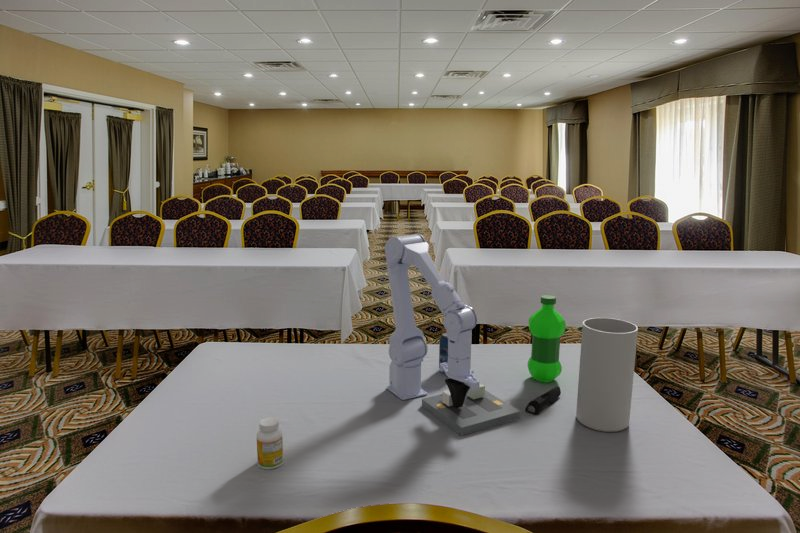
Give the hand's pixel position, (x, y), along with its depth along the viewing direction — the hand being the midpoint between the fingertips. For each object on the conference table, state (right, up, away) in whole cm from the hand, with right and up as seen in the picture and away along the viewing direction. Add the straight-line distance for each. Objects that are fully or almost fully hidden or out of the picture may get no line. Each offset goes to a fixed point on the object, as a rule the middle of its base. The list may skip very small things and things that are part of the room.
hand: (458, 406), depth 144 cm
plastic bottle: (+28, +2, +24) cm, 37 cm away
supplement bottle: (-42, -7, -21) cm, 48 cm away
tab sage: (+5, +1, +7) cm, 9 cm away
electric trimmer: (+24, -2, +8) cm, 25 cm away
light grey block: (-1, 0, +3) cm, 3 cm away
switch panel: (+3, -2, +3) cm, 5 cm away
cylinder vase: (+36, -3, -2) cm, 36 cm away
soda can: (+1, +3, +29) cm, 30 cm away
